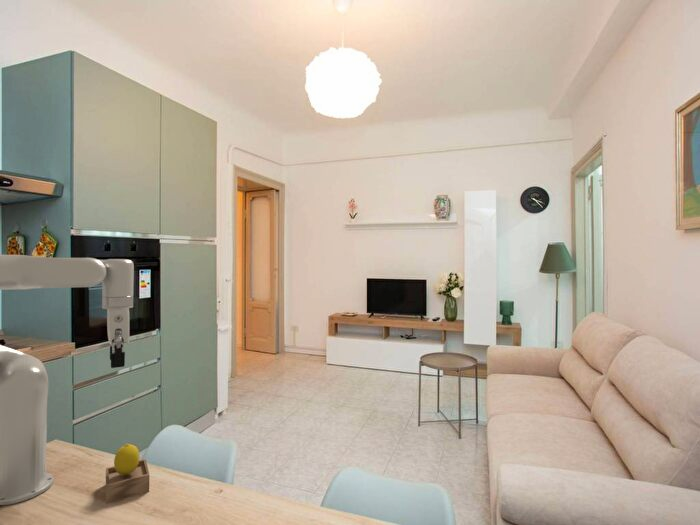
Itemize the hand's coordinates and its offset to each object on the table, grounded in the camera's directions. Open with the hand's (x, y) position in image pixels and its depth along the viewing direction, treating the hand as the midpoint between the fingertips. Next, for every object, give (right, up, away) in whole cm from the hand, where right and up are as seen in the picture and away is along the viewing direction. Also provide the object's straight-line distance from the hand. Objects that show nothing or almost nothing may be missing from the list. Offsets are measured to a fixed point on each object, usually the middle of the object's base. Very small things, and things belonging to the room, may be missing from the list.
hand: (116, 363), depth 109 cm
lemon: (+10, -26, -12) cm, 30 cm away
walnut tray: (+10, -28, -12) cm, 32 cm away
